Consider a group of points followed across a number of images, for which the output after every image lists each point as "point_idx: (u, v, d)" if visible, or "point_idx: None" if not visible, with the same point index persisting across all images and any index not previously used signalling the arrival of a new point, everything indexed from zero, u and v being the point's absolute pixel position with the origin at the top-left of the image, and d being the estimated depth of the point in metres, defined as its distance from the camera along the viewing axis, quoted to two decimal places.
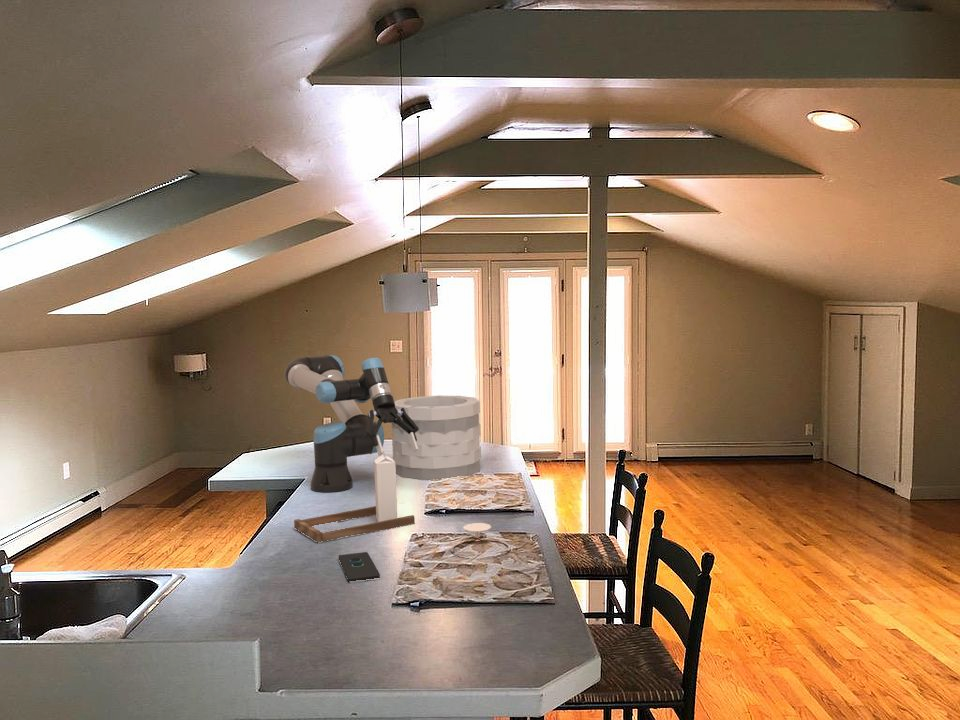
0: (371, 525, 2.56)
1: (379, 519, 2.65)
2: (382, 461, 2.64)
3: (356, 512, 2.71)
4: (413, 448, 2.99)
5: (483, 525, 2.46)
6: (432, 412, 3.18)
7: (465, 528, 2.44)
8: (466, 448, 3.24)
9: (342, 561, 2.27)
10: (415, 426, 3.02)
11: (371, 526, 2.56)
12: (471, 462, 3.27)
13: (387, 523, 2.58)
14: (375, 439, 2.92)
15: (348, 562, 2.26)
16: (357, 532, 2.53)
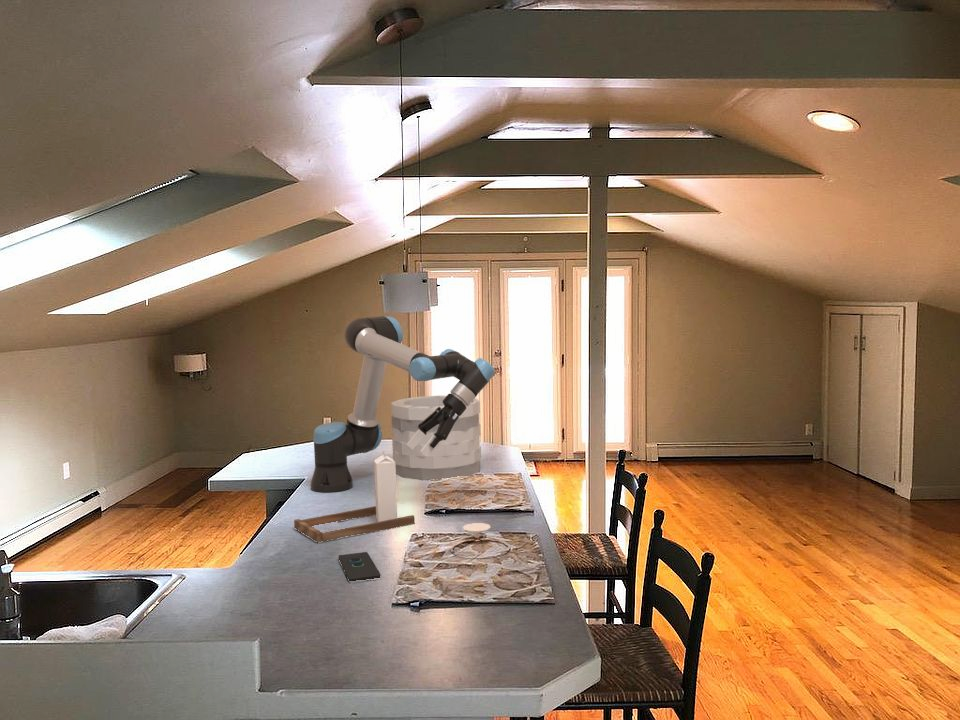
0: (371, 525, 2.56)
1: (379, 519, 2.65)
2: (382, 461, 2.64)
3: (356, 512, 2.71)
4: (411, 444, 2.77)
5: (483, 525, 2.46)
6: (432, 412, 3.18)
7: (465, 528, 2.44)
8: (466, 448, 3.24)
9: (342, 561, 2.27)
10: None
11: (371, 526, 2.56)
12: (471, 462, 3.27)
13: (387, 523, 2.58)
14: None
15: (349, 562, 2.25)
16: (357, 532, 2.53)
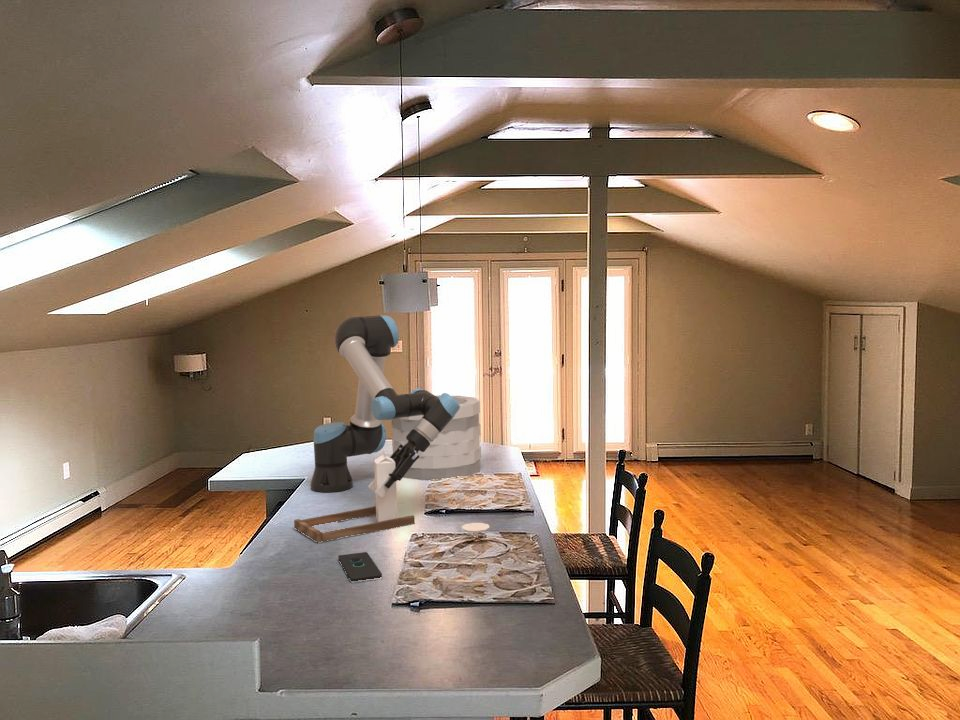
0: (371, 525, 2.56)
1: (379, 519, 2.65)
2: (382, 461, 2.64)
3: (356, 512, 2.71)
4: (373, 486, 2.69)
5: (482, 525, 2.46)
6: None
7: (464, 528, 2.44)
8: (466, 448, 3.24)
9: (342, 561, 2.27)
10: None
11: (371, 526, 2.56)
12: (471, 462, 3.27)
13: (387, 523, 2.58)
14: None
15: (349, 562, 2.25)
16: (357, 532, 2.53)
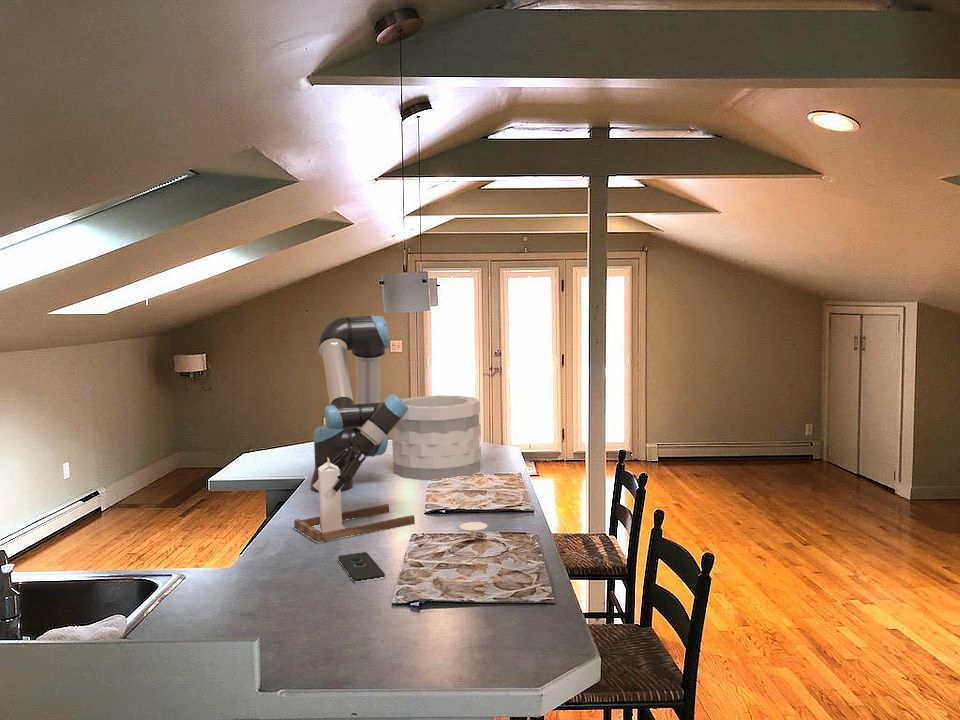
0: (371, 525, 2.56)
1: (323, 529, 2.54)
2: (326, 469, 2.53)
3: (356, 512, 2.71)
4: (317, 486, 2.62)
5: (479, 524, 2.47)
6: (432, 412, 3.18)
7: (461, 527, 2.44)
8: (466, 448, 3.24)
9: (343, 562, 2.26)
10: None
11: (371, 526, 2.56)
12: (471, 462, 3.27)
13: (387, 523, 2.58)
14: None
15: (350, 563, 2.25)
16: (357, 532, 2.53)
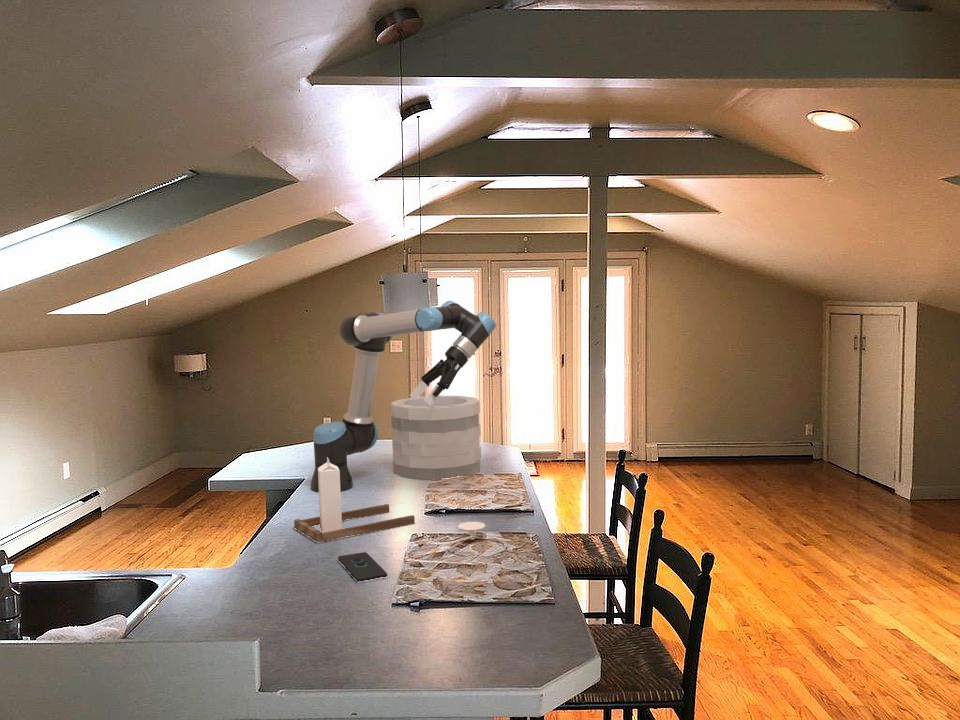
0: (371, 525, 2.56)
1: (323, 529, 2.54)
2: (326, 469, 2.53)
3: (356, 512, 2.71)
4: (414, 395, 2.86)
5: (477, 524, 2.48)
6: (432, 412, 3.18)
7: (460, 527, 2.45)
8: (466, 448, 3.24)
9: (344, 562, 2.26)
10: None
11: (371, 526, 2.56)
12: (471, 462, 3.27)
13: (387, 523, 2.58)
14: None
15: (351, 563, 2.25)
16: (357, 532, 2.53)
